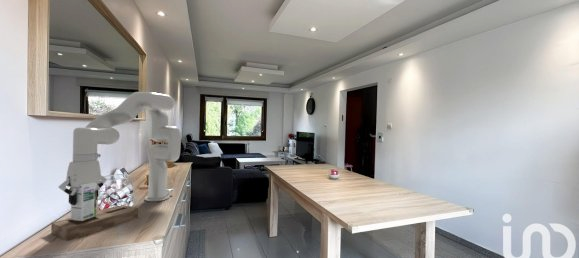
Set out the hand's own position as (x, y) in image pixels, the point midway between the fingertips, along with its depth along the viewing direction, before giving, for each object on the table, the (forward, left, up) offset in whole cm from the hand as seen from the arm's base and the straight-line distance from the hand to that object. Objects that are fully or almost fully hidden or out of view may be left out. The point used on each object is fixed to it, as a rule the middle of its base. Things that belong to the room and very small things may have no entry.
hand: (83, 201), depth 97 cm
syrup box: (0, 0, -7) cm, 7 cm away
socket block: (-5, 0, -11) cm, 13 cm away
